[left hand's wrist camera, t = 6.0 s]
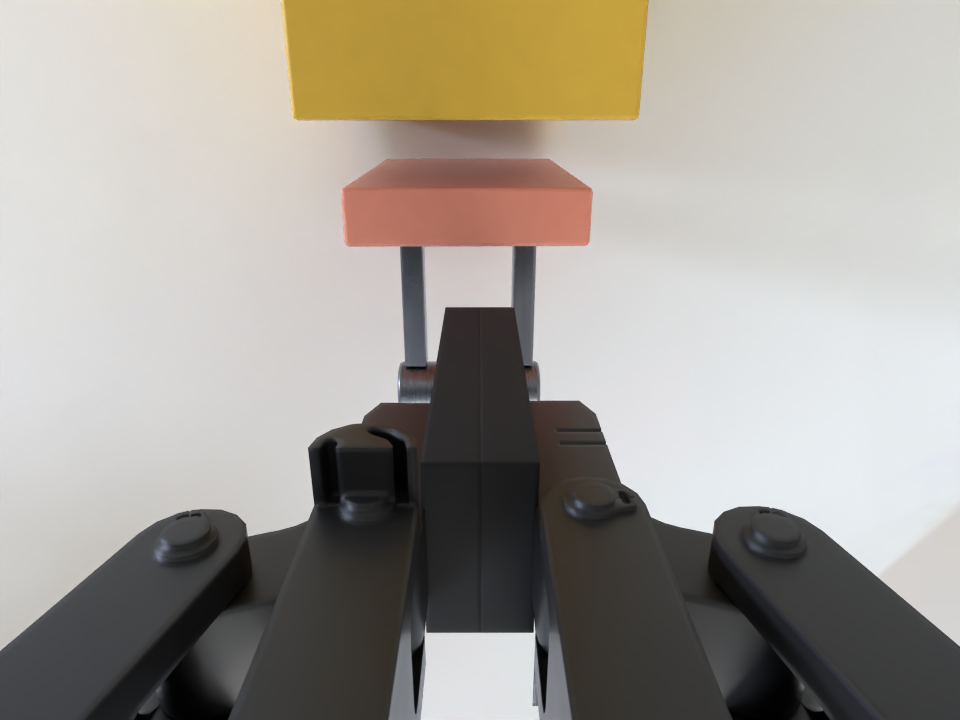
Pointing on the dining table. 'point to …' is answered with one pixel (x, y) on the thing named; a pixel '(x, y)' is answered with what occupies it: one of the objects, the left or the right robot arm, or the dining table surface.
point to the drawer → (465, 234)
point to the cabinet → (465, 59)
